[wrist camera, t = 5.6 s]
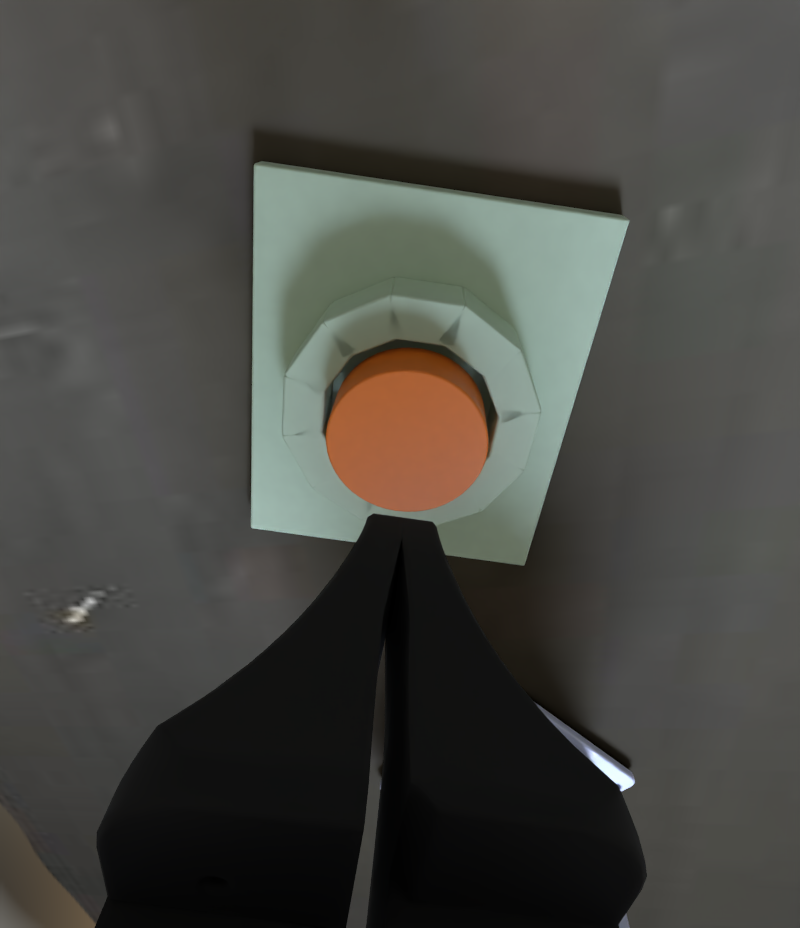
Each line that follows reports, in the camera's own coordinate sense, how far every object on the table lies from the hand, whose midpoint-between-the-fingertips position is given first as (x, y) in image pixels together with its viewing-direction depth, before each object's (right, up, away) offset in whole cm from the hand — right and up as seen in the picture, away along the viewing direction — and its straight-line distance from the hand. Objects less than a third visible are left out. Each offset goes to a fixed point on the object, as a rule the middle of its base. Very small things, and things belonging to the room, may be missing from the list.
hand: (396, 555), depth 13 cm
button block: (0, +4, +7) cm, 8 cm away
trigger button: (0, +3, +5) cm, 6 cm away
